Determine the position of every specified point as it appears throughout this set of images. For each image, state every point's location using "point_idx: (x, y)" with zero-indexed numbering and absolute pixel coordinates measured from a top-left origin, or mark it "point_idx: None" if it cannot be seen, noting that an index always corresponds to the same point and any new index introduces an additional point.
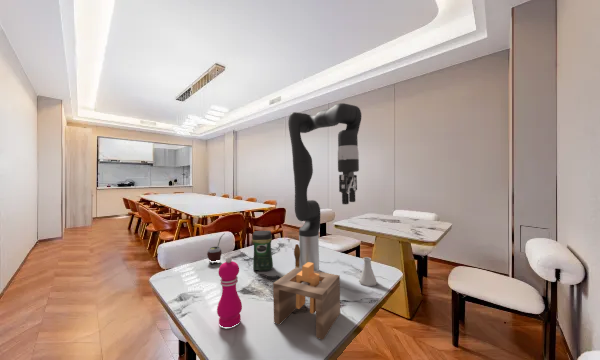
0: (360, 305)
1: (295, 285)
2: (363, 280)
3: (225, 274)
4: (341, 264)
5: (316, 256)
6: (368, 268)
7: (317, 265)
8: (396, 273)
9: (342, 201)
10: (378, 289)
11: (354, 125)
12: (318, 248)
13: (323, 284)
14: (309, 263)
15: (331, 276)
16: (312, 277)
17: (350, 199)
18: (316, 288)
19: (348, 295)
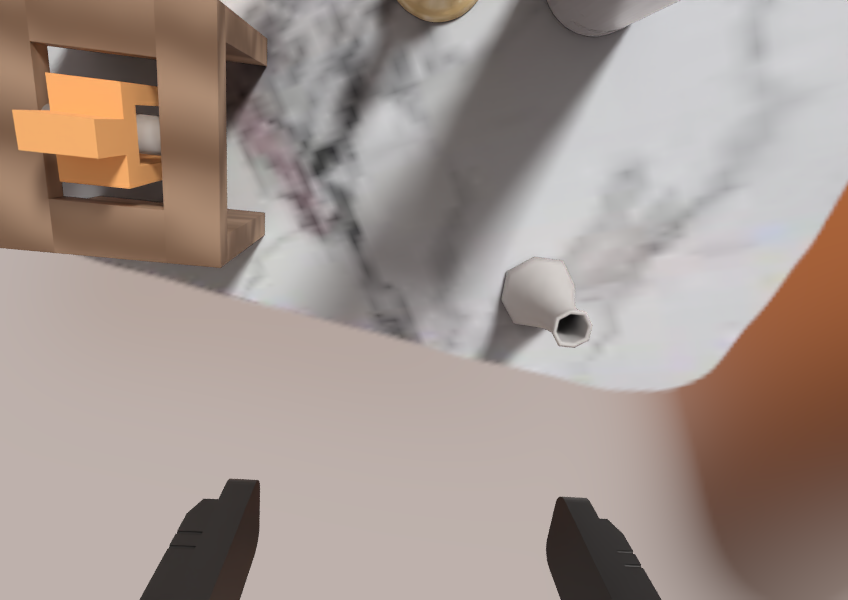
0: (343, 290)
1: (3, 98)
2: (514, 283)
3: None
4: (730, 133)
5: (612, 7)
6: (541, 320)
7: (595, 24)
8: (658, 388)
9: (220, 501)
10: (486, 335)
11: None
12: (665, 1)
13: (90, 224)
14: (78, 135)
15: (191, 235)
16: (70, 168)
17: (568, 530)
18: (35, 206)
19: (399, 237)
